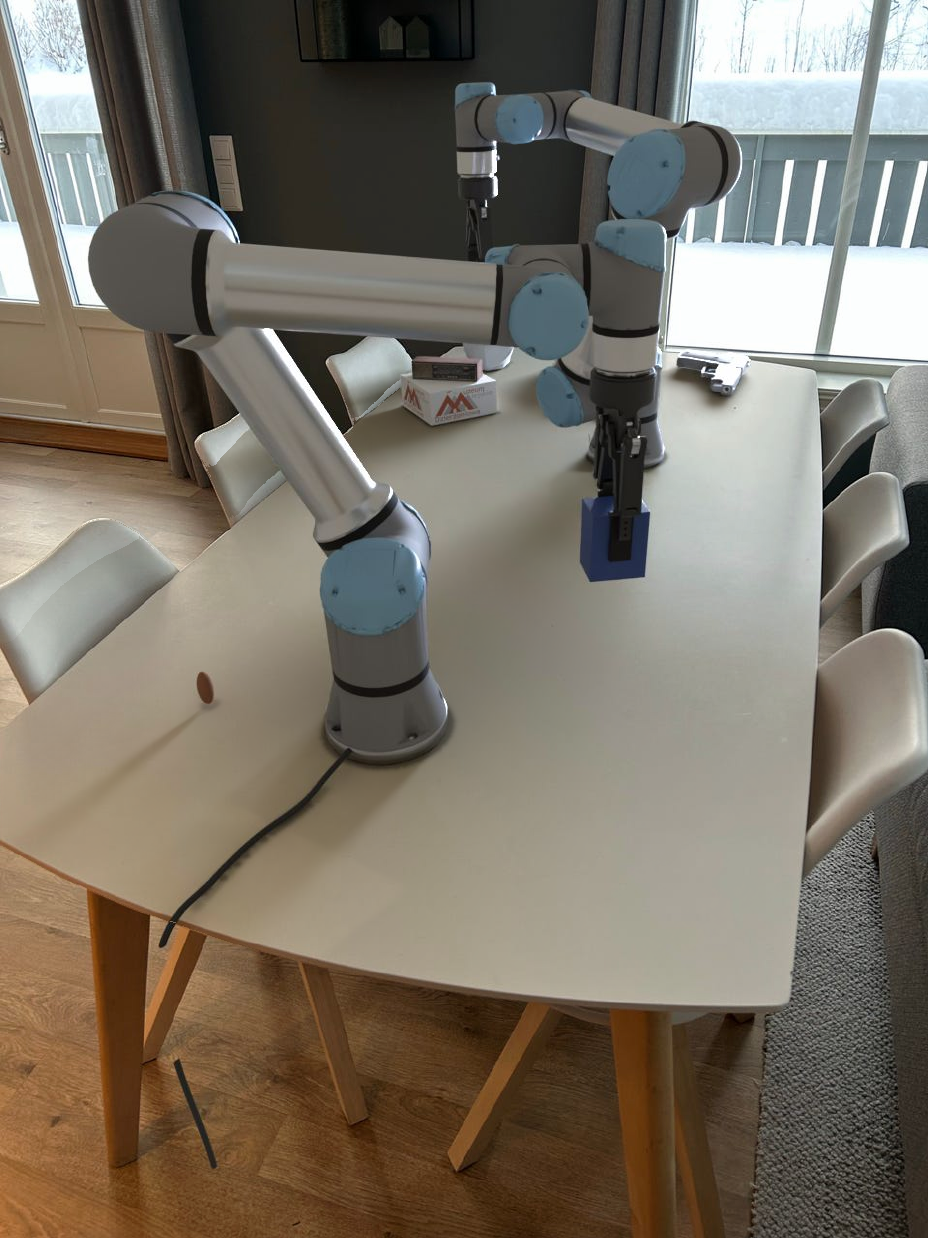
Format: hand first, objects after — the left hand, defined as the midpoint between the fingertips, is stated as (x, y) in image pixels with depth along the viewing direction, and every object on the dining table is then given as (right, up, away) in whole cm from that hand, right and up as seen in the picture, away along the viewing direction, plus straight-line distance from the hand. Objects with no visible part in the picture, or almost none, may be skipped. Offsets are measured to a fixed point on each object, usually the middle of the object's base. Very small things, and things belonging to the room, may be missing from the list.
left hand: (612, 548), depth 116 cm
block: (0, -3, +2) cm, 3 cm away
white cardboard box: (-23, +41, +100) cm, 111 cm away
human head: (-12, +60, +130) cm, 144 cm away
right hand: (-16, +58, +70) cm, 93 cm away
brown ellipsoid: (-52, -20, +3) cm, 56 cm away
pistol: (+42, +51, +113) cm, 131 cm away
